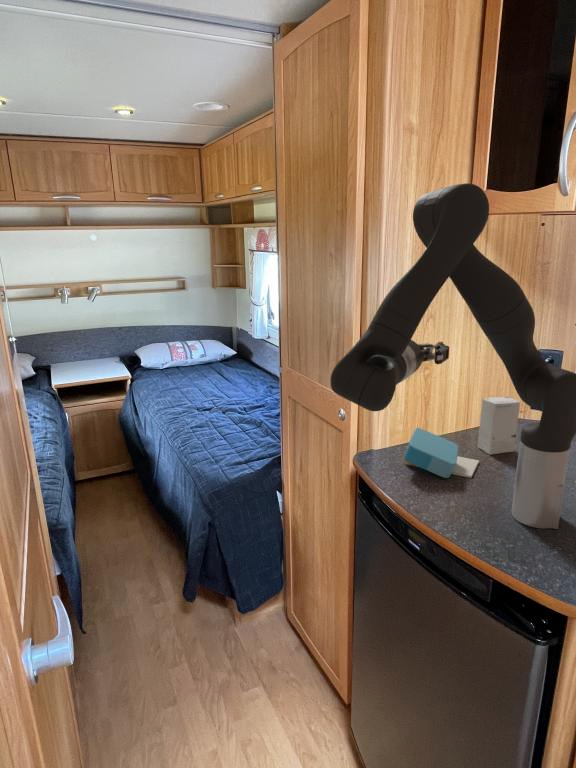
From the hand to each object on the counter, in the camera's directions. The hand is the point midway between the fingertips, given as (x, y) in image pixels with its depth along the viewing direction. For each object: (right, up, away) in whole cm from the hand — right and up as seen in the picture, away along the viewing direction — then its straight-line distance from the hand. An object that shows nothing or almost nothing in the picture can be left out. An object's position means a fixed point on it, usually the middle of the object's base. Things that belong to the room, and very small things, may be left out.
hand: (421, 344), depth 108 cm
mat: (+14, -30, +24) cm, 41 cm away
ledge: (+6, -29, +29) cm, 41 cm away
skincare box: (+30, -27, +33) cm, 52 cm away
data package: (+6, -28, +16) cm, 33 cm away
